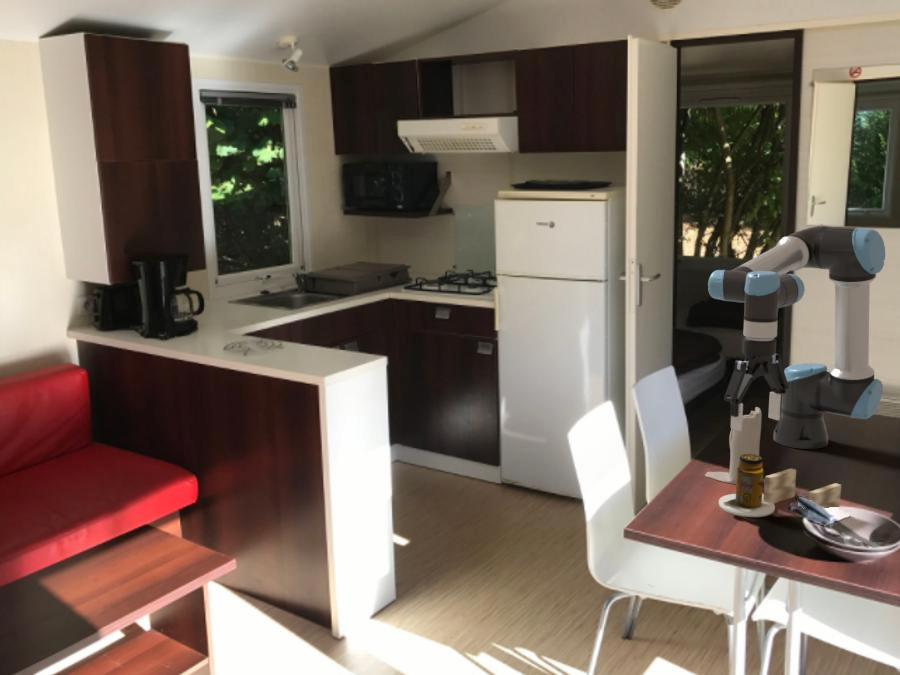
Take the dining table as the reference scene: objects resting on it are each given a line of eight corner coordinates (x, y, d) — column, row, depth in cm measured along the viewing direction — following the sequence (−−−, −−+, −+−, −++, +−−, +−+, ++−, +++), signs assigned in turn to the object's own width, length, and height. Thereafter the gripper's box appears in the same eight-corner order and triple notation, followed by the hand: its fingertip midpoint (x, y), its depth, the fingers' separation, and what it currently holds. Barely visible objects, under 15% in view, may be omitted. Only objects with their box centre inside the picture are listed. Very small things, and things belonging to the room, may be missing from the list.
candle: (709, 469, 248) (713, 398, 244) (761, 479, 240) (765, 406, 236) (700, 477, 243) (703, 405, 238) (752, 488, 235) (757, 413, 231)
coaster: (742, 492, 232) (742, 489, 231) (786, 509, 221) (786, 506, 221) (707, 504, 225) (707, 501, 225) (750, 521, 214) (750, 518, 214)
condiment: (769, 504, 222) (772, 457, 219) (747, 513, 217) (750, 465, 214) (743, 496, 227) (746, 450, 225) (722, 504, 222) (724, 457, 220)
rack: (779, 491, 232) (781, 464, 231) (850, 516, 216) (852, 488, 214) (753, 499, 227) (754, 472, 226) (824, 526, 211) (826, 497, 209)
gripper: (780, 328, 225) (776, 411, 229) (710, 341, 212) (707, 429, 216) (807, 333, 218) (801, 418, 223) (736, 347, 205) (732, 437, 210)
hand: (755, 424), depth 220 cm, fingers open, 13 cm apart
